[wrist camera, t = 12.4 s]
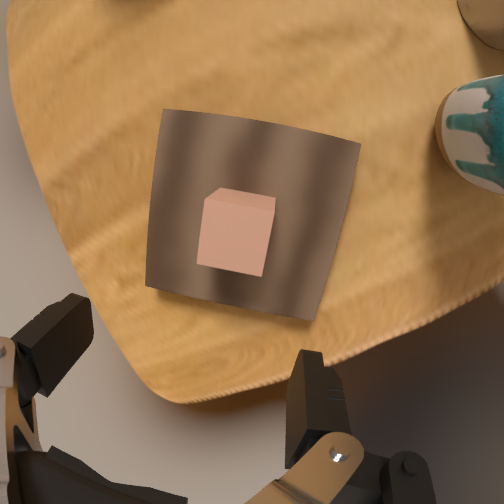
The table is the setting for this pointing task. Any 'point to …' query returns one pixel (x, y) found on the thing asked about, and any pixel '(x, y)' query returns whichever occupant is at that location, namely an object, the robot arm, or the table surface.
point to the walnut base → (257, 182)
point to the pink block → (236, 231)
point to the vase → (474, 132)
